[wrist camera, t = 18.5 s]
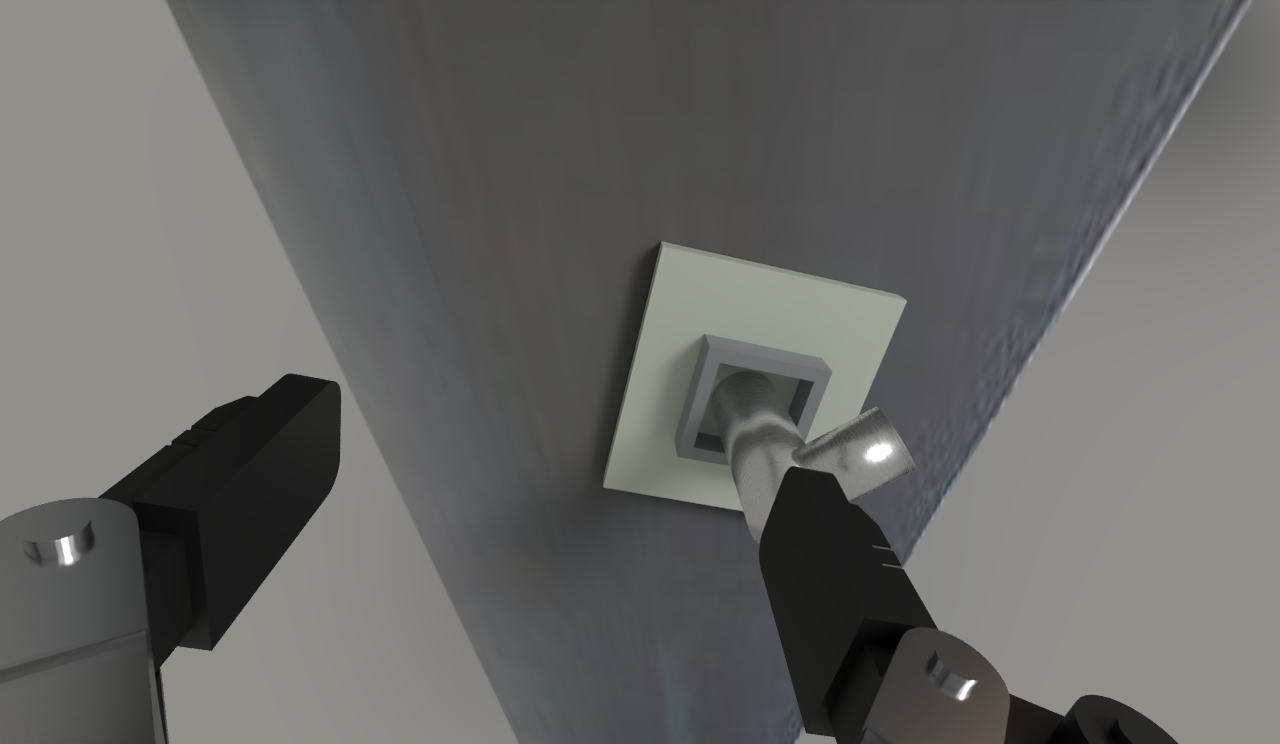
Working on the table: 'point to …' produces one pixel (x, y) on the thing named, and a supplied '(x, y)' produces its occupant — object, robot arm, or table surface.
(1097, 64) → the table surface
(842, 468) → the metal pipe fitting
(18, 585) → the robot arm
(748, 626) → the table surface
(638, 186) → the table surface
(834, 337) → the plate with square socket
